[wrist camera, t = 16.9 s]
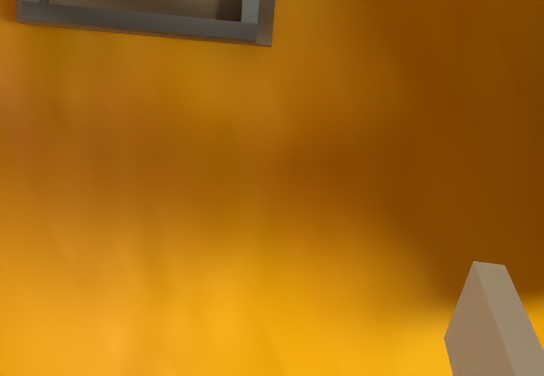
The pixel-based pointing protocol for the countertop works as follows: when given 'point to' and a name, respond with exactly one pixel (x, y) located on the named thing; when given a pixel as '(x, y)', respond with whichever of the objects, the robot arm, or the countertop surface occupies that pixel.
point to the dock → (159, 18)
